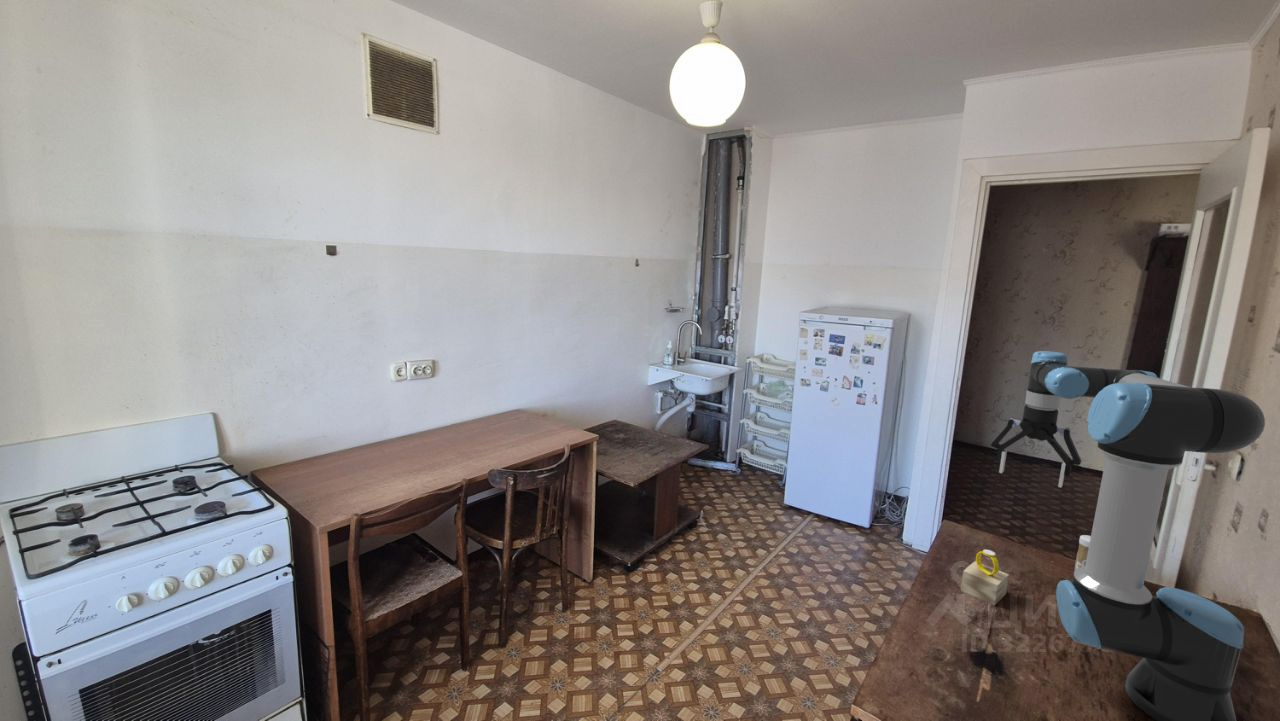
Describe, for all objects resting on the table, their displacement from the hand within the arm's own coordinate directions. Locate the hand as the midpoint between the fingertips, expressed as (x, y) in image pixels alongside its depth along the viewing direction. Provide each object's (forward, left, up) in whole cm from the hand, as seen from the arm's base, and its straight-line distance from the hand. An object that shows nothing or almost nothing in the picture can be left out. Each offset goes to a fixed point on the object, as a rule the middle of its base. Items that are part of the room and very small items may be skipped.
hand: (1029, 478), depth 147 cm
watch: (+4, +23, -21) cm, 31 cm away
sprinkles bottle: (-15, -2, -27) cm, 31 cm away
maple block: (+3, +23, -27) cm, 36 cm away
